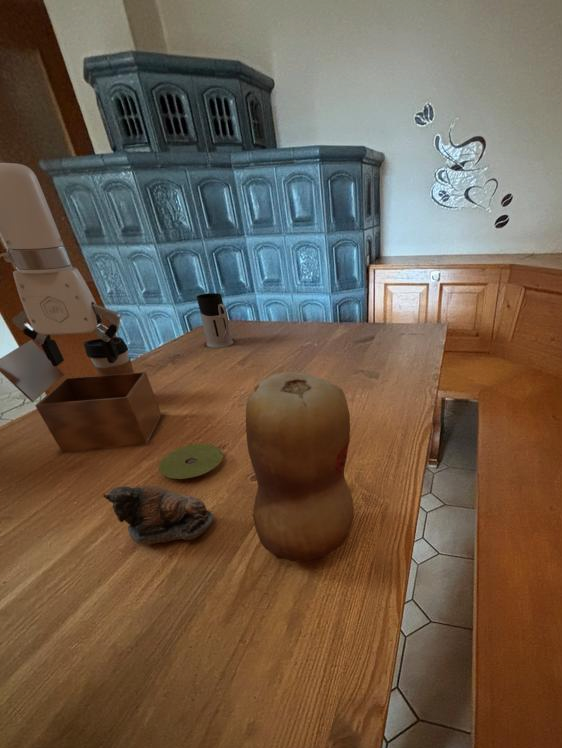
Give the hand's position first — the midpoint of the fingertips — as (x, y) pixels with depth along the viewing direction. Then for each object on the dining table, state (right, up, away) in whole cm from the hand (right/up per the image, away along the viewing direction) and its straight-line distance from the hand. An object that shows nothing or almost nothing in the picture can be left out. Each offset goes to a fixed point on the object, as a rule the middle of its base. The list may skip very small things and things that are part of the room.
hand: (86, 362), depth 73 cm
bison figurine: (+24, -31, -15) cm, 43 cm away
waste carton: (0, -12, +9) cm, 16 cm away
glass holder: (+7, +22, +55) cm, 60 cm away
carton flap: (-10, -2, -1) cm, 10 cm away
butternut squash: (+45, -32, -17) cm, 58 cm away
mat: (+21, -21, -1) cm, 30 cm away
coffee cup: (-5, -3, +22) cm, 23 cm away
